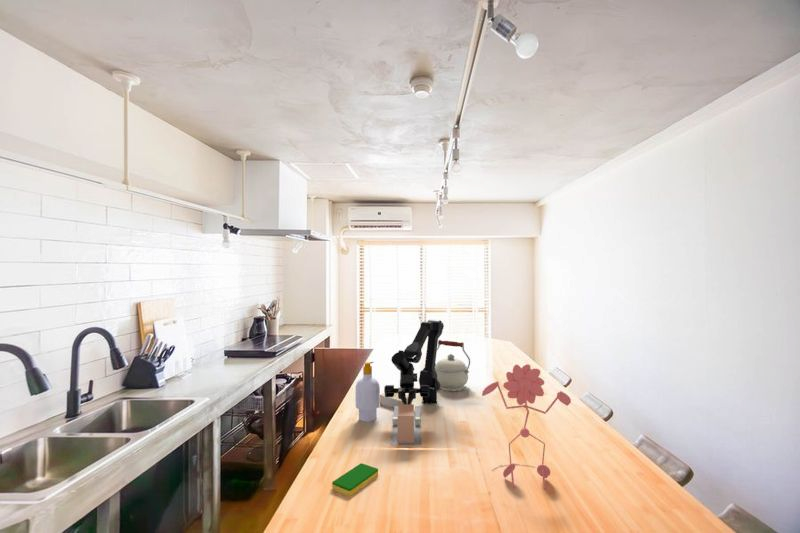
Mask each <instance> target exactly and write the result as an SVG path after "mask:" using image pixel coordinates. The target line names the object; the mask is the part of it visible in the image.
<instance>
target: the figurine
mask: <svg viewBox="0 0 800 533" xmlns="http://www.w3.org/2000/svg"><path fill="white" fill-rule="evenodd" d="M540 375H541V370H540V369H539V368H532V369H531V365H530V364H528V363H527V364H524V365H523V366H522V367H521V366H520V365H519V364H514V366H513V368H512V372H511V371H507V372H506V380H507V381H506V382H504V383H503V385H502V387H503V388H504V389H506V390H507V391H508V392H507V396H506V397H507V398H509V399H516V402H517V404H518V405H514V406H508V405H507V402H506V399H505V398H504V394H503V393H502V390H501V387H500V384H499V383H500V382H499V381H495V382H492V383H491V384H489V385H487V386H486V387H484V388H483V391H482V393H481V395H482V397H484V396H486V395H489V394H491V393H492V392H494V391H495V390H496V389H498V391H499V394H500V395H501V398H502V401H503V403H504V406H505V408H506V410H508V409H509V410H510V409H518V408H519V409H521V408H524V409H526V411H527V412H526V415H525V421H524V425H523V427H522V428H521V429H520V432H519V434H518V435H516V436H515V437H514V438H513V439H512V440H511V441H510V442H509V443H508V453H509V464H508V465H507V464H505V465H503V467H505V469H504V470H503V473H502V475H503V478H504V479H506V478H507V477H508V476H509V475H511V485H512V487H511V488H515V481H514V479H515V478H514V471H515V469H516V466H519V464H518V463H512V457H511V456H512V455H511V444H512V443H513V442H514V441H516V439H517V438H519V437H520V436H521V437H523V438H528V437H529V436H530V437H532V438H533V439H535V440H537V441H538V442H540V443H541V444H543V451H542V458H541V460H542V461H541V464H539V465H538V466H537V468H536V472H537V473H538V475H539V476H541V477H542V483H543V489H544V490H545V489H547V487H546V479H547V478H548V477H549V476H550V475H551V469H550V468H549V466H547V465H545V464H544V460H545V449H546V444H545V442H544V441H542V440H541V439H539V438H538V437H536V436H535V435H533V434H531V433H530V431H529V429H528V428H526V426H527V423H528V418H529V414H530V409H531V410H533V411H535V412H538V413H541V414H544V415H546V414H547V413H548V412H549V411H550V410H551V408H552V407H553V406H554V405H555V403H556V402H557V401H558V400H559V402H560V403H562V404H563V405H565V406H569V405H570V404H571V402H572V399H571V398H570V396H569V395H568V394H567V393H565V392H563V391H561V390H560V391H558V392H557V393H556V397H555V399H554V400H553V401H552V402H551V404H550V405H549V406H548V407H547V409H546V410H545V411H543V410H541V409H538V408H535V407H532V406H530V405H528V403H529V404H534V403H535V401H536V398H537V397H543V396H544V395H545V392H544V389H543V387H542V386H544V385H545V380H544V379H543V378H541V377H540ZM525 466H526V467H529V465H527V464H524V467H525ZM501 467H502V464H500V465H499V466H497V467H494V468H493V469H492V471H493V470H495V469H497V468H501ZM530 467H531V468H534V466H533V465H530Z"/></svg>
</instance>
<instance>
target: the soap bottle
mask: <svg viewBox="0 0 800 533" xmlns="http://www.w3.org/2000/svg"><path fill="white" fill-rule="evenodd" d="M371 364H374V361H367V362H364V366H363V367H362V369H363V370H362V372H363V373H362V376H363V377H362V378H361V377H360V379H359V380H358V381H357V382H356V384H355V408H356V409H358V420H360V421H362V422H374V421H375V420H376V419H377V416H378V415H377V414H378V413H377V410H378V408H380V406H381V405H380V395H381V394H380V390H381V389H380V388H381V387H380V383H379V381H378V380H377V379H376V378H374V377H373V372H372V370H373V368H372V367H373V366H371Z"/></svg>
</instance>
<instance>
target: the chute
mask: <svg viewBox="0 0 800 533" xmlns="http://www.w3.org/2000/svg"><path fill="white" fill-rule="evenodd" d="M420 408H421V407H420V405H414V443H398V406H394V408H393V414H392V415H393V416H392V432H391V441H390V445H391V446H395V445H396V446H398V445H399V446H400V445H401V446H403V445H404V446H422V444H423V443H422V430H421V429H422V428H421V409H420Z"/></svg>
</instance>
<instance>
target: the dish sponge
mask: <svg viewBox="0 0 800 533" xmlns="http://www.w3.org/2000/svg"><path fill="white" fill-rule="evenodd" d="M378 476H379V469H378V468H377V467H374V466H371V465H367V464H365V463H362V462H361V463H359V464H358V465H355V466H354V467H352V469H349V470H348V471H347V472H345V473H343V475H340V476H339V477H337V478H336V479H335V480H333V481H332V483H331V484H332V485H331V486H332V487H331V489H332V490H333V491H336V492H338V493H341V494H343V495H345V496H348V497H351V496H353V495H354V494H355V493H356V492H358V491H360V490H361V489H362V488H363V487H365V486H366V485H367V484H369V483H370V482H372V481H373V480H375V479H376V478H377V477H378Z"/></svg>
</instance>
